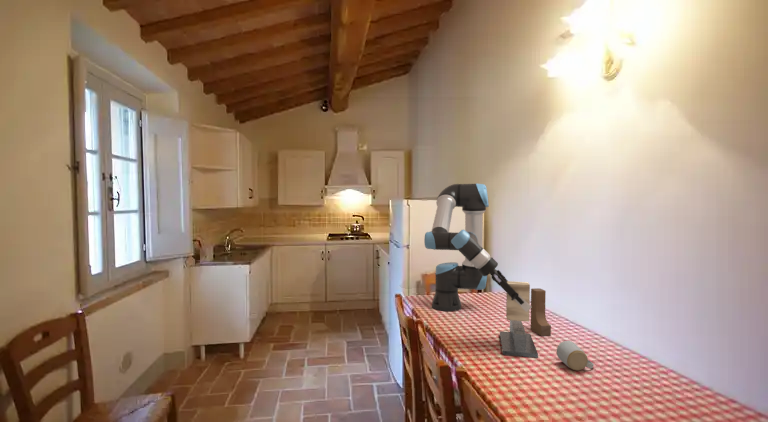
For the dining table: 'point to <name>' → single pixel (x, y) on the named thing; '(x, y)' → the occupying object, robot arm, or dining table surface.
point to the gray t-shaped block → (517, 341)
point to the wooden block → (539, 313)
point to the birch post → (513, 307)
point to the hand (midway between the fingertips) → (527, 307)
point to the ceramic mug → (573, 356)
